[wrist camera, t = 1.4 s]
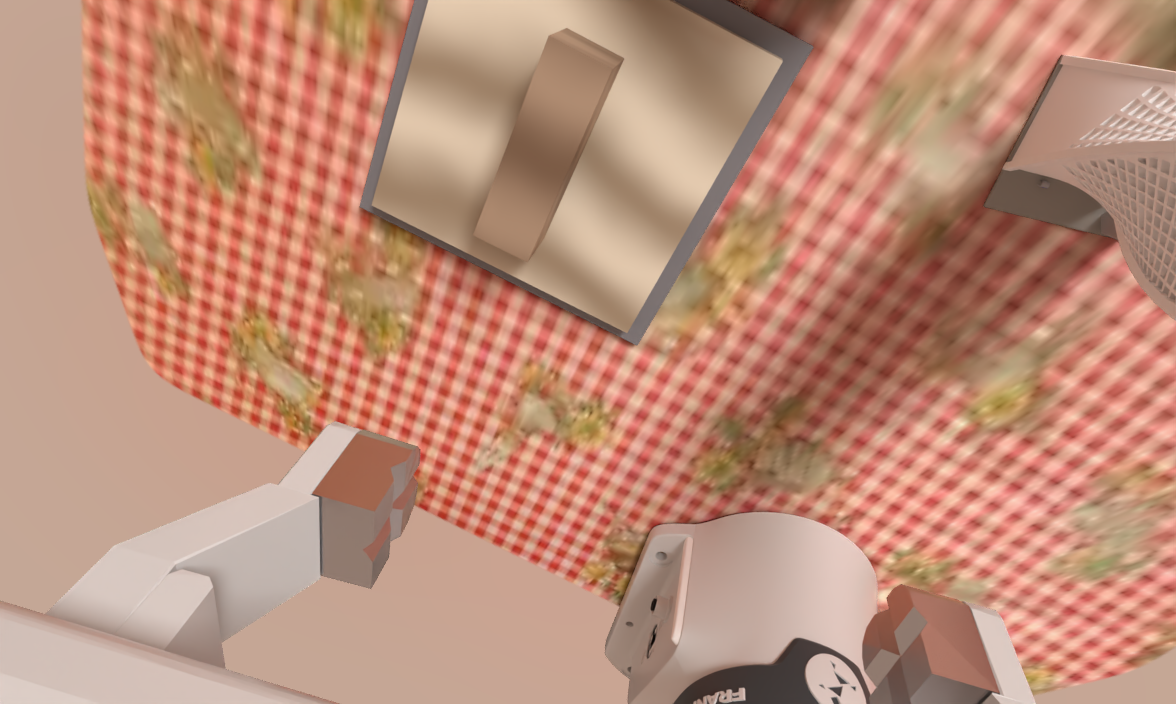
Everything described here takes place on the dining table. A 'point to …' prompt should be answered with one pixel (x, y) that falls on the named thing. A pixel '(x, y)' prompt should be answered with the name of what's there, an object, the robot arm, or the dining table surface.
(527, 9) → the cover board
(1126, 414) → the dining table surface
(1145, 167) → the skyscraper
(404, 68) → the rubber mat
